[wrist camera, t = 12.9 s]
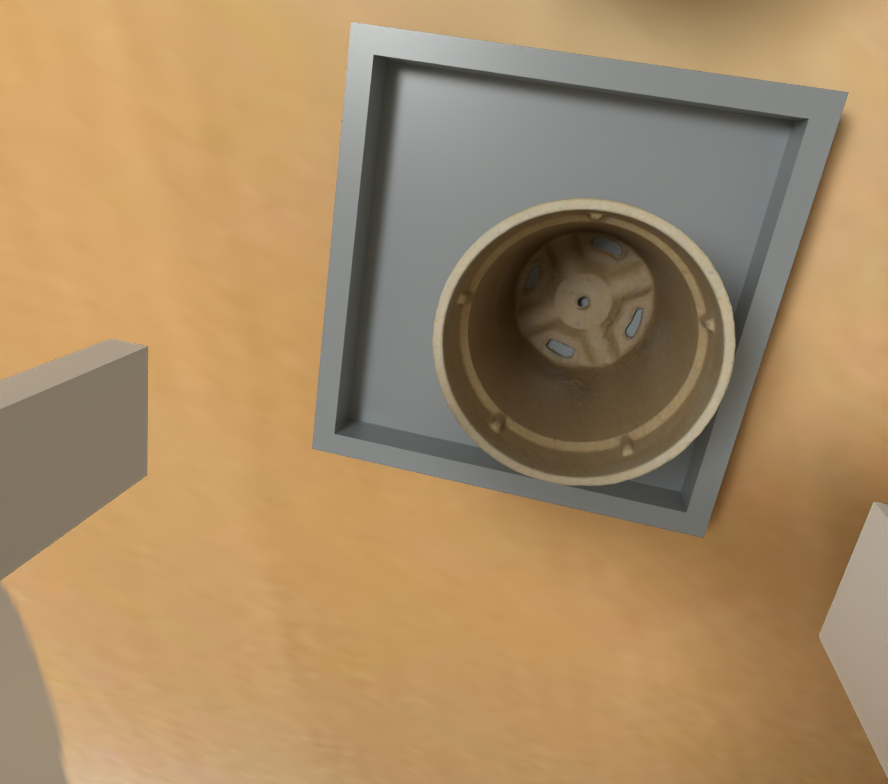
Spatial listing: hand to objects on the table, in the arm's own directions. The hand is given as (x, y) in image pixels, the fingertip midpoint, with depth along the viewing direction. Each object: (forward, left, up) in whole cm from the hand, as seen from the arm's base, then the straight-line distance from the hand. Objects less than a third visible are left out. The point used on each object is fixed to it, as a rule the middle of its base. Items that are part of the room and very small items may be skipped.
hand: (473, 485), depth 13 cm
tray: (0, 0, -20) cm, 20 cm away
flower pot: (0, -2, -19) cm, 19 cm away
